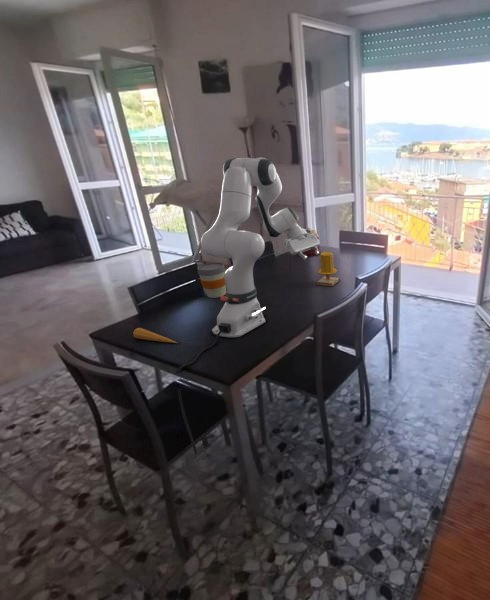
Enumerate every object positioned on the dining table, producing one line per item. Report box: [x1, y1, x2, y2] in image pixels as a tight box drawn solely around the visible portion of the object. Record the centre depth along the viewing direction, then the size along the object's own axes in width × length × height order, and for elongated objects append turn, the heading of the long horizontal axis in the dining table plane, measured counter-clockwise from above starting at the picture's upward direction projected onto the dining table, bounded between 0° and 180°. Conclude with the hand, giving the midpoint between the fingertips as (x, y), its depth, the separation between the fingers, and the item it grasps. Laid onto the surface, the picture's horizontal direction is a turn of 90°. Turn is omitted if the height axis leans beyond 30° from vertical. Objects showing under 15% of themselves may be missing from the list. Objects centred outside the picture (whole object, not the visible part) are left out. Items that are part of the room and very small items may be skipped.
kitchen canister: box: [302, 227, 321, 257], centre depth 237 cm, size 13×13×18 cm
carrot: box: [132, 327, 178, 344], centre depth 139 cm, size 20×4×4 cm, turn 74°
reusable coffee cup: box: [197, 261, 227, 299], centre depth 177 cm, size 13×13×15 cm
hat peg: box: [316, 274, 340, 287], centre depth 189 cm, size 9×9×16 cm
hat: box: [317, 251, 338, 276], centre depth 187 cm, size 10×10×10 cm
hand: (312, 256), depth 192 cm, fingers open, 8 cm apart
